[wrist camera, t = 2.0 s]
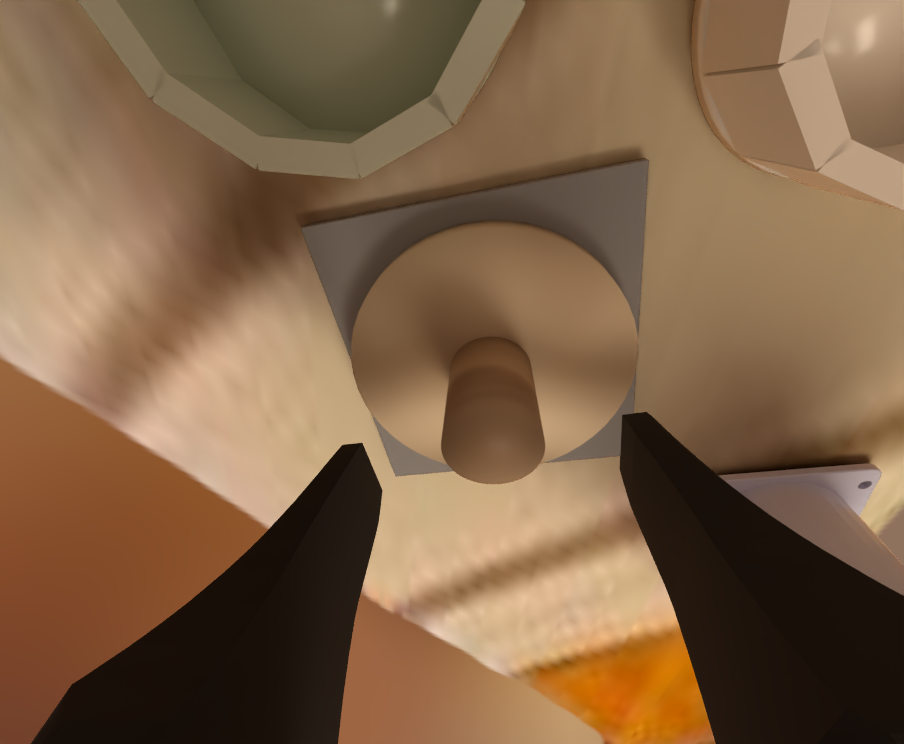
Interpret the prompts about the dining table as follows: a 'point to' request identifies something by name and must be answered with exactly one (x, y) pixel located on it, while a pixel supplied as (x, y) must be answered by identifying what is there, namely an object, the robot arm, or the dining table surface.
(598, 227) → the slate mat
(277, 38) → the sage bowl
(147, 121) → the dining table surface
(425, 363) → the lid
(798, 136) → the cream bowl
